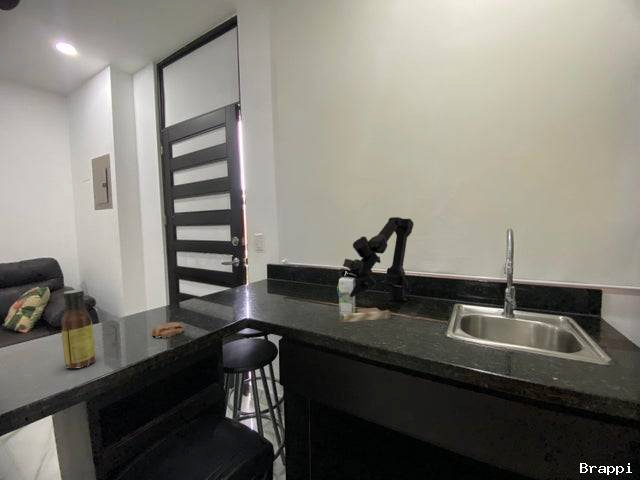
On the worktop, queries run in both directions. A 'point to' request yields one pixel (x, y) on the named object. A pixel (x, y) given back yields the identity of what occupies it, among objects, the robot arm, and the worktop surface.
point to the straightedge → (364, 316)
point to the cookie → (167, 329)
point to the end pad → (367, 310)
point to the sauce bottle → (77, 331)
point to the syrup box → (346, 295)
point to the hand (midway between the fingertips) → (344, 294)
